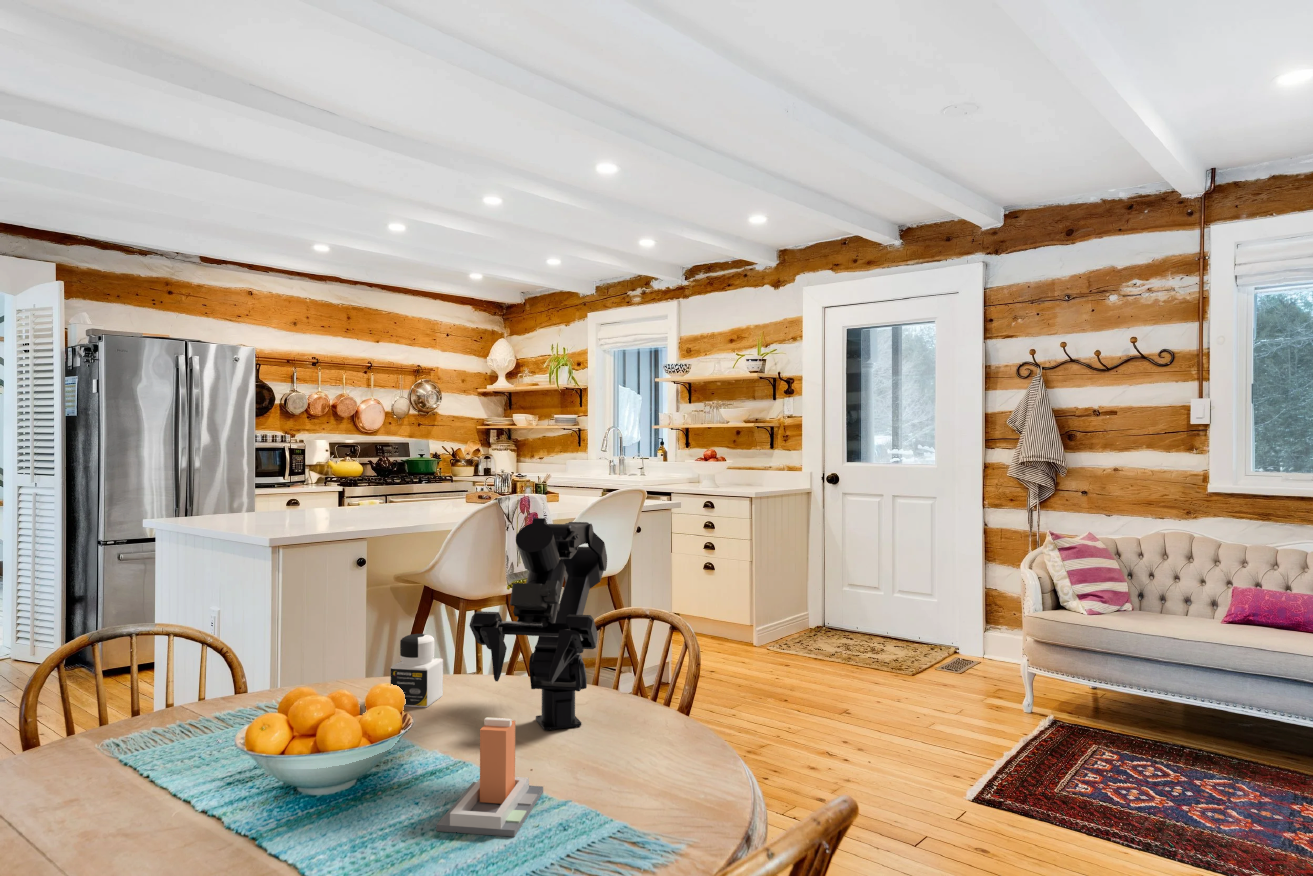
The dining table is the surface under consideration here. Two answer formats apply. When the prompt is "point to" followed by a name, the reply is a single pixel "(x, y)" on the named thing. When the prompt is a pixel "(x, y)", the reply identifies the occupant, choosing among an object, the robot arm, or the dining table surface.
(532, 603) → the robot arm
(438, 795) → the dining table surface
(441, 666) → the medicine bottle
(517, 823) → the grey framed base plate
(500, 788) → the orange juice carton
